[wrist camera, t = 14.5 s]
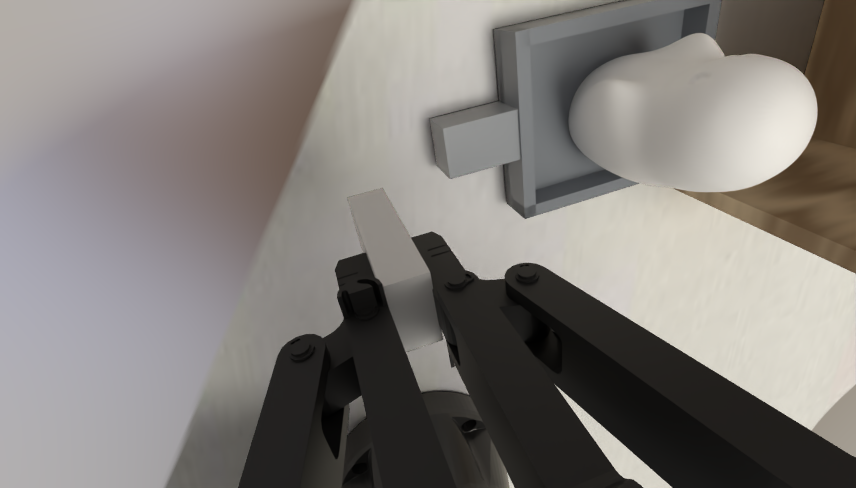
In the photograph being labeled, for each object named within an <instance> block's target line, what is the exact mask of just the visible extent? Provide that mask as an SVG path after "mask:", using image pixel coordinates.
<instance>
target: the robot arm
mask: <svg viewBox="0 0 856 488" xmlns="http://www.w3.org/2000/svg"><path fill="white" fill-rule="evenodd" d="M347 199H348V202H349V206H350V209H351V213H352V216H353V220H354V223H355V227H356V230H357V234H358V237H359V241H360V244H361V248H362V251H363V253H362V254H359V255H356V256H352V257H349V258H345V259H342V260H339V261H338V264H337V266H336V269H335V272H336V277H337V281H338V285H339V291H338V294H337V299H338V302H339V305H340V308H341V310H342V313H343V316H344V320H343V322H342V323H341V325H340V326H339V327H338V328H337V329H336V330H335V331H334V332H332V333H331V334H329V335H328V336H326V337H324V338H323V339H322V337H321V336H318V335H315V334H305V335H302V336H298V337H296V338H294V339H292V340H291V341H289V342H288V343H287V344H286V345H285V346H284V347H282V349H281V351H280V352H279V354H278V357H277V360H276V364H275V367H274V370H273V374H272V377H271V380H270V383H269V387H268V390H267V393H266V397H265V400H264V403H263V407H262V410H261V413H260V417H259V420H258V423H257V427H256V430H255V433H254V437H253V440H252V443H251V447H250V450H249V453H248V457H247V460H246V463H245V467H244V470H243V473H242V477H241V480H240V483H239V487H238V488H509V482H508V476H507V473H508V475H509V477H510V479H511V481H512V483H513V485H514V487H515V488H643V487H642V486H641V485H640V484H638V483H637V482H636V481H634V480H632V479H625V478H623V477H622V476H621V475H619V473H618V472H617V471H616V470H615V468H614V467H613V466H612V464H611V463H610V462H609V460H608V459H607V457H606V456H605V455H604V453H603V452H602V450H601V449H600V448H599V446H598V445H597V443H596V442H595V441H594V439H593V438H592V436H591V435H590V434H589V432H588V431H587V429H586V428H585V427H584V425H583V424H582V422H581V421H580V420H579V418H578V417H577V415H576V414H575V413H574V411H573V410H572V408H571V407H570V406H569V404H568V403H567V401H566V400H565V399H564V397H563V396H562V394H561V393H560V392H559V390H558V389H557V387H559V388H560V389H561V390H562V391H563V392H564V393H565V394H567V395H568V396H569V397H570V398H571V399H572V400H573V401H575V402H576V403H577V404H578V405H579V406H580V407H581V408H583V409H584V410H585V411H586V412H587V413H588V414H589V415H590V416H592V417H593V418H594V419H595V420H596V421H597V422H598V423H600V424H601V425H602V426H603V427H604V428H605V429H606V430H608V431H609V432H610V433H611V434H612V435H613V436H614V437H616V438H617V439H618V440H619V441H620V442H621V443H622V444H624V445H625V446H626V447H627V448H628V449H629V450H630V451H632V452H633V453H634V454H635V455H636V456H637V457H638V458H640V459H641V460H642V461H643V462H644V463H645V464H646V465H648V466H649V467H650V468H651V469H652V470H653V471H654V472H655V473H657V474H658V475H659V476H660V477H661V478H662V479H663V480H665V481H666V482H667V483H668V484H669V485H670V486H671V487H673V488H856V457H854V456H851V455H850V454H848V453H846V452H845V451H843V450H842V449H840V448H838V447H837V446H835V445H833V444H832V443H830V442H829V441H827V440H825V439H824V438H822V437H820V436H819V435H817V434H815V433H814V432H812V431H811V430H809V429H807V428H806V427H804V426H802V425H801V424H799V423H798V422H796V421H794V420H793V419H791V418H789V417H788V416H786V415H784V414H783V413H781V412H780V411H778V410H776V409H775V408H773V407H771V406H770V405H768V404H767V403H765V402H763V401H762V400H760V399H758V398H757V397H755V396H754V395H752V394H750V393H749V392H747V391H745V390H744V389H742V388H740V387H739V386H737V385H736V384H734V383H732V382H731V381H729V380H727V379H726V378H724V377H723V376H721V375H719V374H718V373H716V372H714V371H713V370H711V369H709V368H708V367H706V366H705V365H703V364H701V363H700V362H698V361H696V360H695V359H693V358H692V357H690V356H688V355H687V354H685V353H683V352H682V351H680V350H678V349H677V348H675V347H674V346H672V345H670V344H669V343H667V342H665V341H664V340H662V339H661V338H659V337H657V336H656V335H654V334H652V333H651V332H649V331H648V330H646V329H644V328H643V327H641V326H639V325H638V324H636V323H634V322H633V321H631V320H630V319H628V318H626V317H625V316H623V315H621V314H620V313H618V312H617V311H615V310H613V309H612V308H610V307H608V306H607V305H605V304H603V303H602V302H600V301H599V300H597V299H595V298H594V297H592V296H590V295H589V294H587V293H586V292H584V291H582V290H581V289H579V288H577V287H576V286H574V285H572V284H571V283H569V282H568V281H566V280H564V279H563V278H561V277H559V276H558V275H556V274H555V273H553V272H551V271H550V270H548V269H546V268H545V267H543V266H541V265H538V264H534V263H521V264H517V265H514V266H512V267H511V268H509V269H508V270H507V271H506V273H505V279H498V280H481V279H479V278H478V277H477V276H476V275H475V274H474V273H472V272H469V271H466V270H465V269H464V268H463V266H462V265H461V264H460V262H459V261H458V259H457V258H456V256H455V255H454V253H453V252H452V251H451V249H450V248H449V246H448V245H447V243H446V242H445V241H444V239H443V238H442V236H440V235H438V234H436V233H434V232H429V233H426V234H422V235H419V236H416V237H412V238H411V237H410V235H409V234H408V232H407V230H406V228H405V227H404V225H403V223H402V221H401V219H400V218H399V216H398V214H397V212H396V211H395V209H394V207H393V205H392V204H391V202H390V200H389V198H388V196H387V195H386V193H385V191H384V189H383V188H380V189H376V190H373V191H369V192H365V193H362V194H358V195H354V196H351V197H347ZM441 330H442V331H441ZM442 332H443V334H444V336H445V338H446V342H447V347H448V352H449V358H450V363H451V368H452V367H455V366H456V368H457V370H458V372H459V374H460V376H461V378H462V380H463V382H464V384H465V386H466V388H467V390H468V392H469V395H470V396H467V395H464V394H460V393H454V392H431V393H424V394H421V392H420V389H419V386H418V384H417V381H416V378H415V376H414V373H413V370H412V368H411V365H410V362H409V360H408V357H407V354H406V352H409V351H411V350H414V349H417V348H420V347H423V346H426V345H429V344H432V343H435V342H438V341H440V340H443V336H442ZM454 364H455V365H454ZM554 384H555V385H556V386H557V387H556V386H555V385H554ZM361 395H362V398H363V402H364V407H365V411H366V415H367V419H365V420H364V421H363V422H362V423H360V424H359V425H358V426H357V427H356V428H355V429H354V430H353V431H352V432H351V433H350V434H349V436H348V437H347V429H348V420H349V410H350V408H349V403H351V402H352V401H354V400H355V399H356V398H358V397H359V396H361Z"/></svg>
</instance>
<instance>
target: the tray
mask: <svg viewBox="0 0 856 488" xmlns="http://www.w3.org/2000/svg"><path fill="white" fill-rule="evenodd" d="M721 2H722V0H623V1H618V2H614V3H609V4H605V5H600V6H596V7H591V8H587V9H582V10H578V11H573V12H569V13H564V14H560V15H555V16H551V17H546V18H542V19H537V20H533V21H528V22H524V23H520V24H515V25H511V26H506V27H502V28H497V29H494V40H495V53H496V66H497V79H498V92H499V101H498V102H494V103H490V104H486V105H482V106H478V107H474V108H470V109H466V110H462V111H458V112H455V113H451V114H447V115H443V116H439V117H435V118H431V119H430V125H431V131H432V137H433V144H434V150H435V156H436V162H437V167H438V168H439V169H440V170H441V171H442V172H443V173H444V174H445V175H446V176H447V177H448V178H449V179H453V178H456V177H460V176H464V175H467V174H471V173H474V172H478V171H481V170H485V169H488V168H492V167H495V166H499V165H502V164H504V172H505V185H506V198H507V204H508V205H509V206H511V207H512V208H513V209H514V210H515V211H516V212H518V213H519V214H520V215H521V216H522V217H523V218H525V219H526V218H530V217H533V216H536V215H539V214H543V213H546V212H549V211H552V210H555V209H559V208H562V207H565V206H568V205H572V204H575V203H578V202H581V201H584V200H588V199H591V198H594V197H597V196H601V195H604V194H607V193H610V192H613V191H617V190H620V189H623V188H626V187H630V186H633V185H636V184H639V183H637V182H634V181H631V180H628V179H625V178H623V177H620V176H618V175H616V174H614V173H612V172H610V171H608V170H606V169H604V168H602V167H601V166H599V165H598V164H596V163H595V162H593V161H592V160H590V159H589V158H588V157H586V156H585V155H584V154H583V153H582V152H581V151H580V150H579V148H578V147H577V146H576V144H575V143H574V141H573V140H572V137H571V135H570V131H569V125H568V117H569V110H570V106H571V102H572V100H573V97H574V95H575V93H576V91H577V89H578V88H579V86H580V85H581V83H582V82H583V81H584V79H585V78H586V77H587V76H588V75H589V74H590V73H591V72H592V71H594V70H595V69H596V68H598V67H600V66H601V65H603V64H605V63H606V62H609V61H611V60H613V59H615V58H618V57H622V56H626V55H630V54H637V53H644V52H649V51H653V50H657V49H660V48H663V47H665V46H668V45H670V44H672V43H674V42H676V41H678V40H680V39H682V38H684V37H686V36H689V35H691V34H695V33H704V34H707V35H709V36H710V37H711V38H713V39H714V40H715V38H716V32H717V26H718V20H719V14H720V8H721Z"/></svg>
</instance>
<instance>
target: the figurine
mask: <svg viewBox="0 0 856 488" xmlns="http://www.w3.org/2000/svg"><path fill="white" fill-rule="evenodd" d="M816 121H817V100H816V96H815V93H814V90H813V88H812V86H811V84H810V82H809V81H808V79H807V78H806V77H805V76H804V74H803V73H802V72H800V71H799V70H798V69H797V68H796V67H794V66H792V65H791V64H789V63H787V62H785V61H782V60H779V59H776V58H773V57H769V56H764V55H759V54H745V55H730V56H726V57H725V55H724V53H723V52H722V50H721V48H720V47H719V46H718V44H717V43H716V41H715V40H714V39H713V38H711V37H710V36H709V35H707V34H704V33H695V34H691V35H689V36H686V37H684V38H682V39H680V40H678V41H676V42H674V43H672V44H670V45H668V46H665V47H663V48H660V49H657V50H653V51H649V52H644V53H637V54H630V55H626V56H622V57H618V58H615V59H613V60H611V61H609V62H606V63H605V64H603V65H601V66H600V67H598V68H596V69H595V70H594V71H592V72H591V73H590V74H589V75H588V76H587V77H586V78H585V79H584V81H583V82H582V83H581V85H580V86H579V88H578V89H577V91H576V93H575V95H574V97H573V100H572V102H571V106H570V110H569V117H568V125H569V131H570V135H571V137H572V140H573V141H574V143H575V144H576V146H577V147H578V148H579V150H580V151H581V152H582V153H583V154H584V155H585V156H586V157H588V158H589V159H590V160H592V161H593V162H595V163H596V164H598V165H599V166H601V167H602V168H604V169H606V170H608V171H610V172H612V173H614V174H616V175H618V176H620V177H623V178H625V179H628V180H631V181H634V182H637V183H641V184H645V185H650V186H658V187H670V188H675V189H680V190H686V191H693V192H727V191H736V190H741V189H745V188H749V187H752V186H755V185H757V184H760V183H762V182H764V181H766V180H768V179H770V178H772V177H774V176H776V175H777V174H779V173H780V172H782V171H783V170H785V169H786V168H787V167H789V166H790V165H791V164H792V163H793V162H794V161H795V160H796V159H797V158H798V157H799V156H800V155H801V154H802V152H803V151H804V150H805V148H806V147H807V145H808V143H809V141H810V139H811V137H812V135H813V132H814V129H815V126H816Z"/></svg>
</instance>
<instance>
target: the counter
mask: <svg viewBox="0 0 856 488" xmlns="http://www.w3.org/2000/svg"><path fill="white" fill-rule="evenodd" d="M804 76H805V77H806V78H807V79H808V81H809V82H810V84H811V86H812V88H813V90H814V93H815V96H816V100H817V121H816V126H815V129H814V132H813V135H812V137H811V139H810V141H809V143H808V145H807V147H806V148H805V150H804V151H803V152H802V154H801V155H800V156H799V157H798V158H797V159H796V160H795V161H794V162H793V163H792V164H791V165H790V166H789V167H787V168H786V169H785V170H783V171H782V172H780V173H779V174H777V175H776V176H774V177H772V178H770V179H768V180H766V181H764V182H762V183H760V184H757V185H755V186H752V187H749V188H745V189H741V190H736V191H727V192H693V191H686V190H680V189H676V190H678V191H680V192H682V193H684V194H686V195H689V196H691V197H693V198H695V199H697V200H699V201H701V202H704V203H706V204H708V205H710V206H712V207H714V208H716V209H719V210H721V211H723V212H725V213H727V214H729V215H731V216H734V217H736V218H738V219H740V220H742V221H744V222H746V223H749V224H751V225H753V226H755V227H757V228H759V229H761V230H764V231H766V232H768V233H770V234H772V235H774V236H776V237H779V238H781V239H783V240H785V241H787V242H789V243H791V244H794V245H796V246H798V247H800V248H802V249H804V250H806V251H809V252H811V253H813V254H815V255H817V256H819V257H821V258H824V259H826V260H828V261H830V262H832V263H834V264H836V265H839V266H841V267H843V268H845V269H847V270H849V271H851V272H854V273H856V0H825V1H824V5H823V9H822V12H821V16H820V20H819V23H818V27H817V31H816V34H815V38H814V42H813V45H812V49H811V53H810V56H809V60H808V63H807V67H806V71H805V74H804ZM674 189H675V188H674Z"/></svg>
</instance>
